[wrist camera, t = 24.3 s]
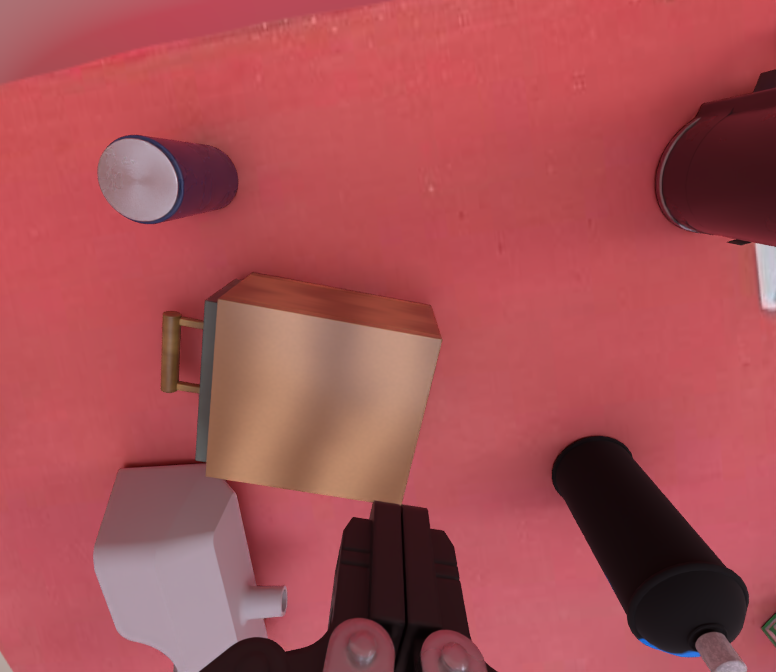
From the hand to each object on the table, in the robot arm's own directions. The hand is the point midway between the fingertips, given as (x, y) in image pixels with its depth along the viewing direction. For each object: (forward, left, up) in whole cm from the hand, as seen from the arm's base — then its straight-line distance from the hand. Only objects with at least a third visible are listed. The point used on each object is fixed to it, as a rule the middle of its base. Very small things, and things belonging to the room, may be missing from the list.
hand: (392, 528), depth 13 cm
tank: (+33, -12, -29) cm, 46 cm away
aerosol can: (+15, +24, -29) cm, 41 cm away
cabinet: (+8, -4, -29) cm, 30 cm away
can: (-6, -16, -29) cm, 34 cm away
